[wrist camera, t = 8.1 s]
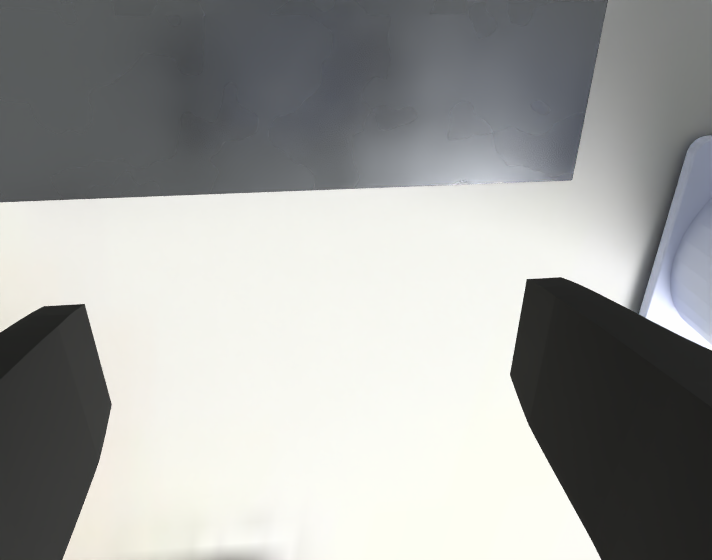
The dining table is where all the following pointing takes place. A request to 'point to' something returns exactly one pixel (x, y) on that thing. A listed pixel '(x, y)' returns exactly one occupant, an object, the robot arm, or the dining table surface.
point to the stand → (289, 94)
